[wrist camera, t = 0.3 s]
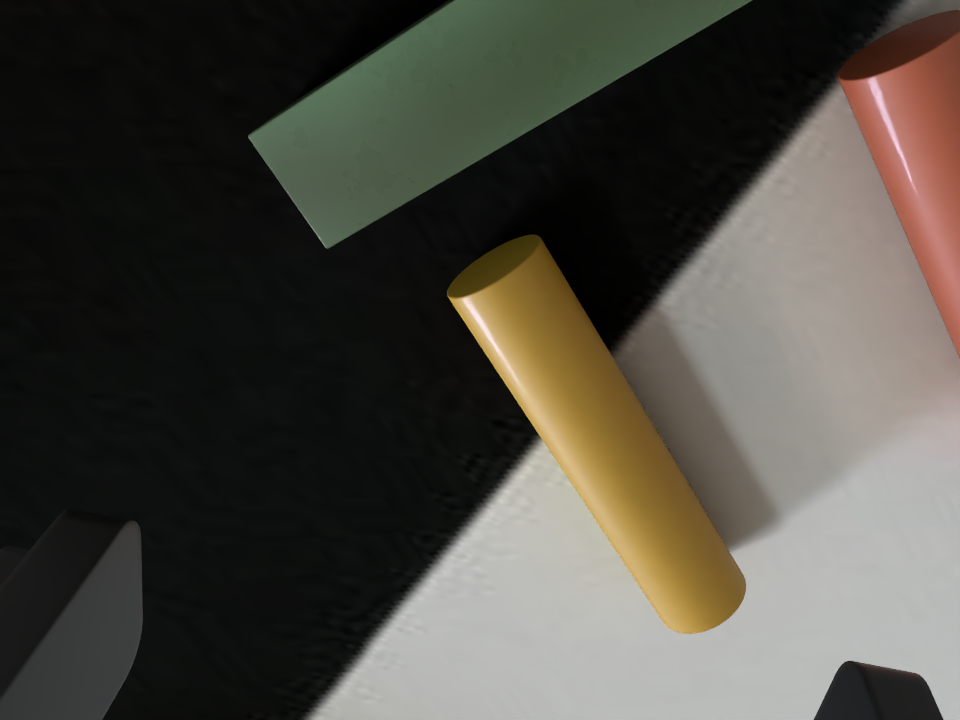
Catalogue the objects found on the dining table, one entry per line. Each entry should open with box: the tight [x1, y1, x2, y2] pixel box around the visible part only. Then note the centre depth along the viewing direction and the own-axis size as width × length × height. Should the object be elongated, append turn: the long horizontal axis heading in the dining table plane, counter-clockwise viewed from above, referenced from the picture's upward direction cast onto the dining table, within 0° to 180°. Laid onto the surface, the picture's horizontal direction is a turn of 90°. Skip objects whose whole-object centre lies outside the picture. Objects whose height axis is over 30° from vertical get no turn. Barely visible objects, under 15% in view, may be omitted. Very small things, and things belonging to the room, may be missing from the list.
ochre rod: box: [447, 235, 746, 634], centre depth 29 cm, size 14×3×3 cm, turn 31°
